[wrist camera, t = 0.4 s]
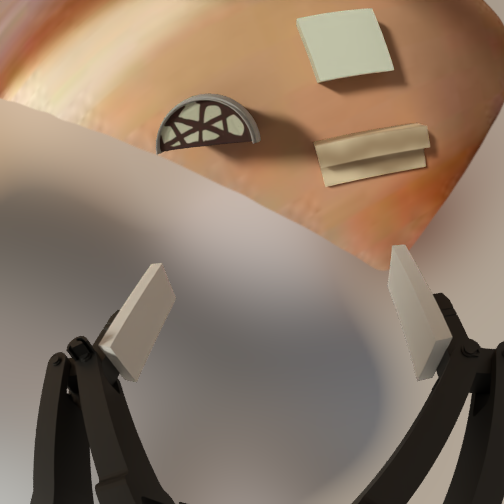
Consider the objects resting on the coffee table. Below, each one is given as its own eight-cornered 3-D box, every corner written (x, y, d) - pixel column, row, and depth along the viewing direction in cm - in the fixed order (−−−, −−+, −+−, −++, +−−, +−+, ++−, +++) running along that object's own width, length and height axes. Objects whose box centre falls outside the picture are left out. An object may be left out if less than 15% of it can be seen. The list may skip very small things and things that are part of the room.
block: (296, 26, 27) (296, 18, 24) (364, 15, 25) (371, 8, 21) (317, 83, 32) (320, 81, 28) (384, 72, 29) (394, 70, 25)
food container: (263, 89, 33) (253, 86, 24) (266, 132, 36) (258, 143, 28) (177, 100, 35) (144, 105, 26) (182, 140, 38) (152, 155, 30)
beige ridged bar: (313, 142, 36) (315, 146, 33) (416, 122, 31) (426, 125, 28) (324, 184, 39) (327, 192, 36) (423, 164, 34) (433, 171, 31)
